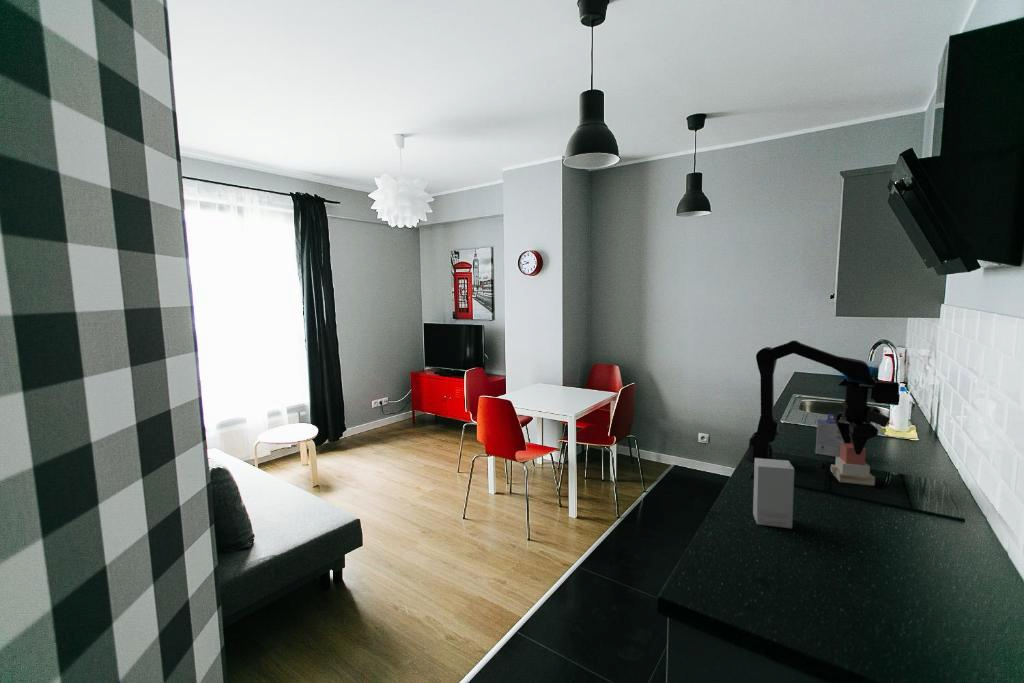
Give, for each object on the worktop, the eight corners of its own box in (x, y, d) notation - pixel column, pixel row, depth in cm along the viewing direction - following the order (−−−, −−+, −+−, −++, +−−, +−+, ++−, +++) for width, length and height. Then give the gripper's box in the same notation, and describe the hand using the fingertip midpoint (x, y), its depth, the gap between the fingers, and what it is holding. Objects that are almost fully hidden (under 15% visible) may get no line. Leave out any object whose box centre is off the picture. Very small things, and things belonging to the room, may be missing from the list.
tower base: (874, 487, 142) (875, 477, 142) (839, 483, 145) (840, 474, 145) (862, 476, 151) (863, 467, 151) (830, 473, 154) (830, 464, 154)
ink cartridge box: (848, 454, 170) (851, 415, 168) (848, 459, 165) (851, 419, 164) (815, 449, 175) (818, 411, 174) (815, 454, 171) (817, 415, 169)
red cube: (864, 465, 144) (865, 449, 144) (845, 463, 146) (846, 447, 145) (858, 459, 149) (859, 444, 149) (840, 458, 151) (840, 442, 150)
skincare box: (787, 518, 122) (790, 460, 120) (793, 530, 116) (796, 469, 114) (751, 513, 124) (754, 456, 123) (755, 525, 118) (758, 465, 117)
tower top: (869, 476, 143) (870, 466, 143) (842, 473, 146) (843, 464, 145) (860, 468, 150) (861, 459, 150) (835, 465, 152) (835, 456, 152)
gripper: (901, 409, 135) (897, 462, 136) (874, 396, 152) (870, 443, 154) (855, 407, 138) (851, 458, 140) (834, 394, 156) (831, 440, 157)
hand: (852, 449), depth 148 cm, fingers open, 9 cm apart
